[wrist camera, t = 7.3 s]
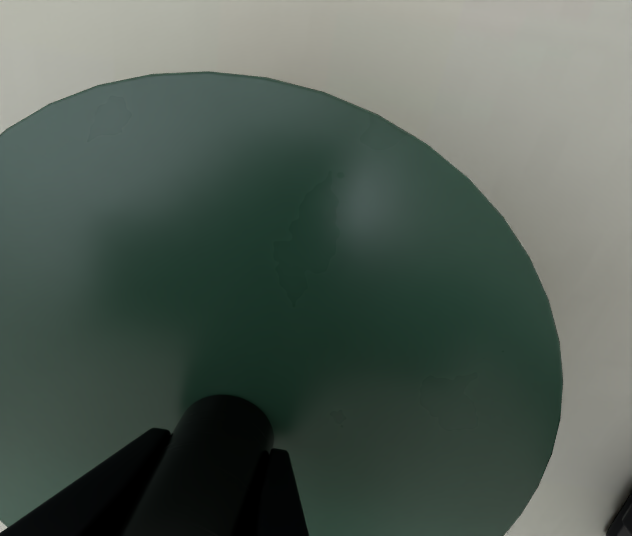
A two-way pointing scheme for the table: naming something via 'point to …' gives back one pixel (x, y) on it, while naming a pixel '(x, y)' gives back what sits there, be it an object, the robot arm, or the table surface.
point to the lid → (265, 314)
